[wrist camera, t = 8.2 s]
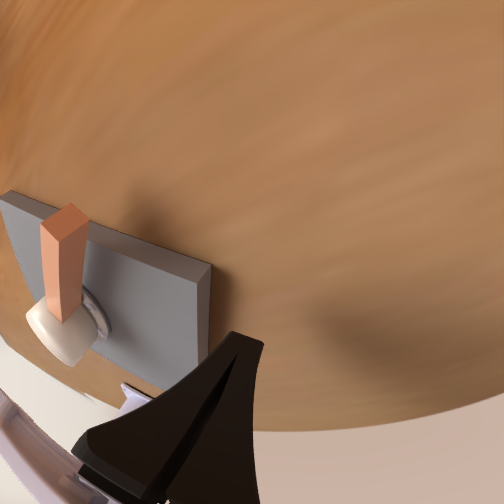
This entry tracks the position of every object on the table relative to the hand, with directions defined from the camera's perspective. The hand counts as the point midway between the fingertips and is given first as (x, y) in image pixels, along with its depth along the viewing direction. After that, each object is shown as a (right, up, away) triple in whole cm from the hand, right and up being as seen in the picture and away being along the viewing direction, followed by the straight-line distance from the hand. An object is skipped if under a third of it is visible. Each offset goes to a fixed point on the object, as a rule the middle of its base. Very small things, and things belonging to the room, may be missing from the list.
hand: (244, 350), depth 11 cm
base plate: (-12, +1, +9) cm, 15 cm away
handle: (-11, +2, +4) cm, 12 cm away
